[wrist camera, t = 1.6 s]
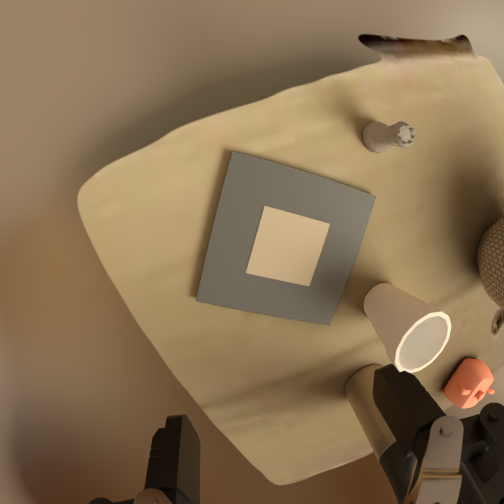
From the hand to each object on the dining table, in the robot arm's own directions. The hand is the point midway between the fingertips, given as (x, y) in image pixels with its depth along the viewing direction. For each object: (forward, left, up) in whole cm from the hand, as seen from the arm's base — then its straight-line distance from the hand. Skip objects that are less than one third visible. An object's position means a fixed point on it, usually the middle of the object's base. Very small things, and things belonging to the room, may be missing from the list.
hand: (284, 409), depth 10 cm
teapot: (-63, +21, -28) cm, 72 cm away
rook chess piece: (-14, -18, -28) cm, 37 cm away
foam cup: (-24, +5, -28) cm, 38 cm away
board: (-6, 0, -28) cm, 29 cm away
